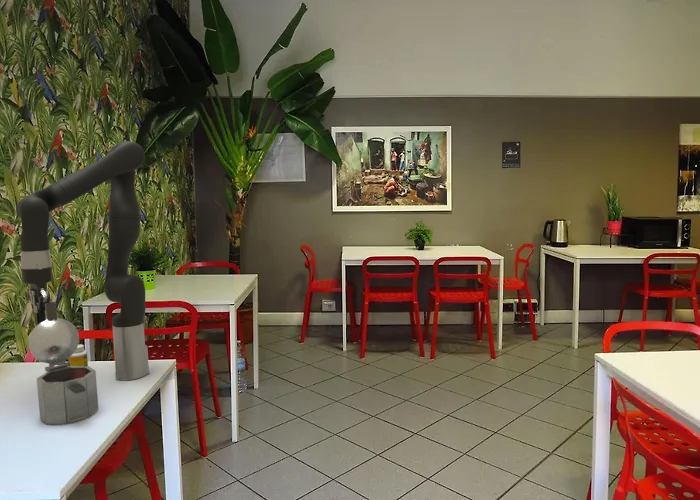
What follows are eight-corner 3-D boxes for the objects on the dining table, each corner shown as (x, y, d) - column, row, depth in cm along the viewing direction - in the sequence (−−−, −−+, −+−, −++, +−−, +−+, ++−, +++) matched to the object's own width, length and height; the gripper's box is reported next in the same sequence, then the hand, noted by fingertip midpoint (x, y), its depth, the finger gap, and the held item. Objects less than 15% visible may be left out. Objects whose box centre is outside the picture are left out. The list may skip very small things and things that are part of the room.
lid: (82, 363, 150) (79, 362, 151) (74, 298, 149) (72, 298, 151) (33, 374, 141) (31, 373, 142) (25, 306, 140) (22, 306, 142)
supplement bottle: (87, 378, 169) (85, 347, 168) (68, 380, 167) (65, 349, 166) (89, 372, 174) (87, 342, 173) (70, 375, 172) (68, 344, 171)
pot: (85, 398, 152) (82, 361, 151) (110, 416, 140) (107, 376, 138) (32, 413, 143) (29, 374, 141) (54, 434, 130) (50, 391, 129)
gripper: (15, 265, 153) (20, 323, 155) (28, 269, 144) (33, 331, 146) (44, 262, 159) (48, 319, 161) (58, 266, 149) (62, 326, 151)
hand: (41, 324), depth 153 cm, fingers closed
